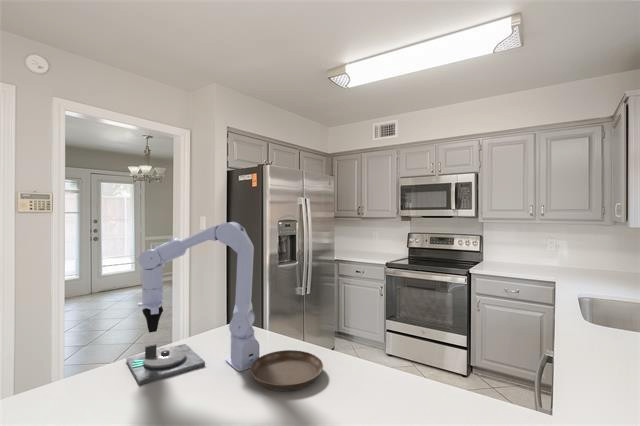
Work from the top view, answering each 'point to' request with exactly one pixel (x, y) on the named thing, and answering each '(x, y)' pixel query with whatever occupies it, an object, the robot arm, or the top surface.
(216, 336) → the top surface
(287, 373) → the plant saucer
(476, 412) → the top surface
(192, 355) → the panel
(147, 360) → the dial
